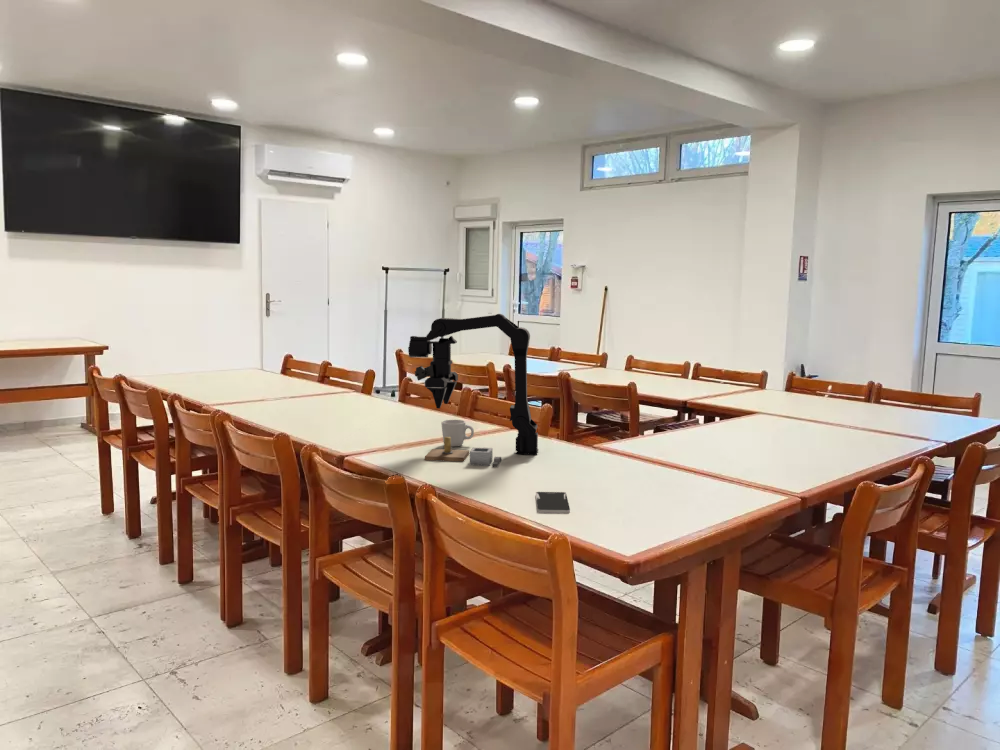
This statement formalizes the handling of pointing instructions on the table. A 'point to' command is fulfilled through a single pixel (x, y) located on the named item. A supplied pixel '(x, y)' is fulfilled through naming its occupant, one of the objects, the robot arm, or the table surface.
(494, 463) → the grey long bar
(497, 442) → the table surface
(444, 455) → the wooden peg board
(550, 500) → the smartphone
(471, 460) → the end link
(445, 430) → the cup
